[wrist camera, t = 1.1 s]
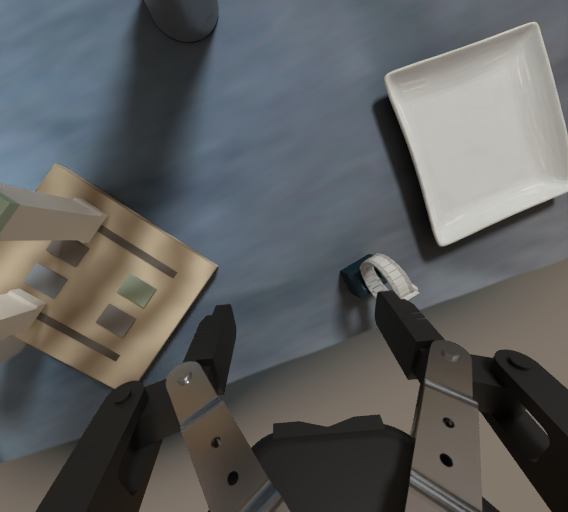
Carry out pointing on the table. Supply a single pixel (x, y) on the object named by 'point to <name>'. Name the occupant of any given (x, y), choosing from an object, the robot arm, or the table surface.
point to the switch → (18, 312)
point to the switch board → (104, 286)
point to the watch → (378, 277)
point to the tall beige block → (46, 216)
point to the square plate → (483, 131)
